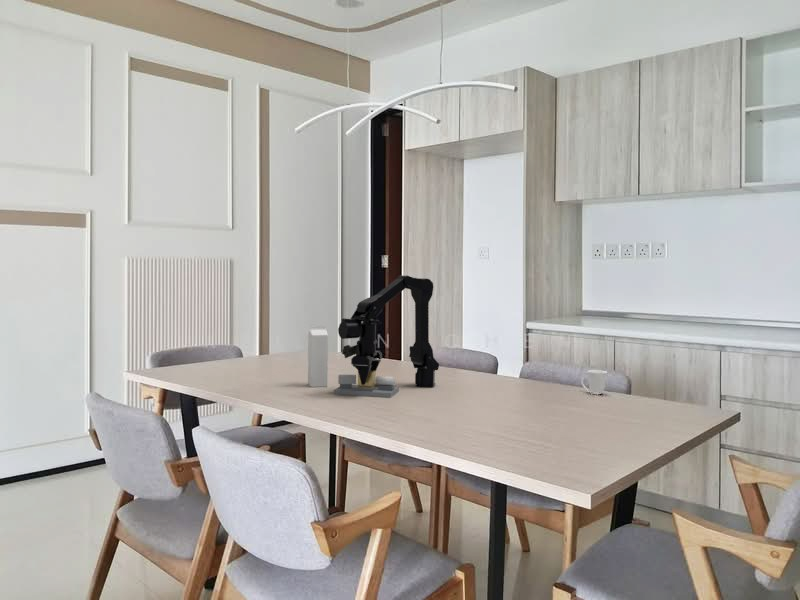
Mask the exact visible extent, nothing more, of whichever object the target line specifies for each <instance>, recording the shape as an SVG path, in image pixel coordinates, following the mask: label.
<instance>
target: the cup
mask: <svg viewBox="0 0 800 600" xmlns="http://www.w3.org/2000/svg"><path fill="white" fill-rule="evenodd" d="M608 373H609V372H608V371H605V370H600V369H591V370H590V369H589V370H587V371H586V372H584V373H582V375H581V379H580V381H581V382H580V384H581V386H582V387H583V389H584V390H585V391H586V392H588V393H589V392H601V393H603V392H604V391H605V388H606V384H607V377H608ZM586 375H587V380H588V386H589V389H588V388H587V386H585V384H584V377H585V376H586ZM592 394H594V393H592ZM592 394H591V395H592Z"/></svg>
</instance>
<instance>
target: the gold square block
mask: <svg viewBox="0 0 800 600" xmlns="http://www.w3.org/2000/svg"><path fill="white" fill-rule="evenodd" d="M376 372H377V370H376V371H375V370H370V372H369V374H368V377H367V380H366V383H365V385H362V384H361V380H360V376H359V372H358V371H357V385H358V387H366V388H373V389H374V388H376V376H377V373H376Z"/></svg>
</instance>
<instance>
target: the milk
mask: <svg viewBox="0 0 800 600" xmlns="http://www.w3.org/2000/svg"><path fill="white" fill-rule="evenodd" d="M307 336H308V343H307V344H308V347H307V348H308V349H307V350H308V351H307V352H308V353H307V355H308V356H307V385H308V386H309V387H311V388H322V387H323V388H324V387H325V388H327V387H328V372H329V370H328V369H329V367H328V365H329V364H328V363H329V362H328V361H329V360H328V359H329V356H328V355H329V334H328V331H327V325H310V327H309V331H308V335H307Z"/></svg>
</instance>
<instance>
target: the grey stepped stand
mask: <svg viewBox="0 0 800 600" xmlns="http://www.w3.org/2000/svg"><path fill="white" fill-rule="evenodd" d="M337 375H338V376H337V377H338V379H337V381H338V382H337V383H338V385H339V386H338V387H336V388H335V389H333V395H340V396H342V395H343V396H356V397H373V398H388V399H389V398H390V399H391V398H393V396H395V395H396V394H398V393H399V391H400V387H398V386H396V385H395V381H396V380H395V378H396V377H394V376H387V375H386V376H383V375H382V376H381V375H376V388H374V389H373V388H366V387H358V384H357V374H337Z"/></svg>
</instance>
